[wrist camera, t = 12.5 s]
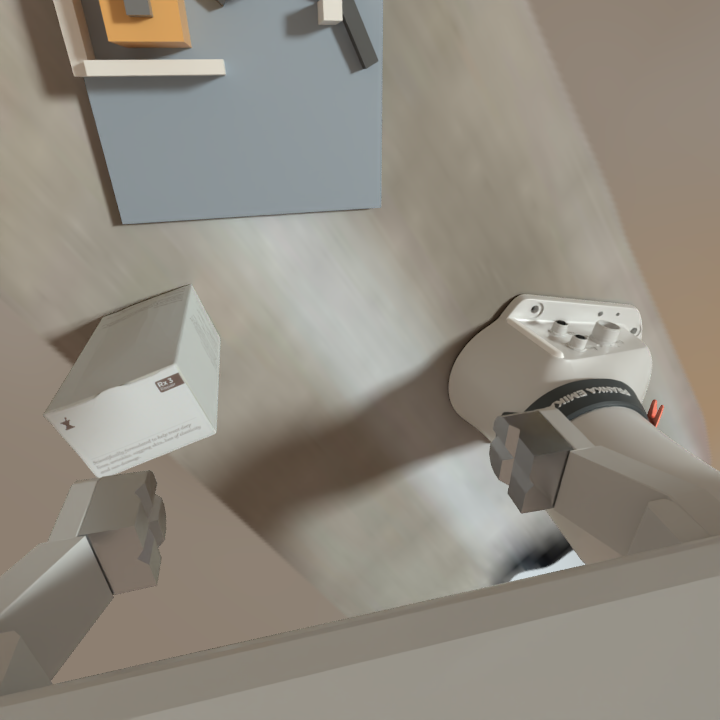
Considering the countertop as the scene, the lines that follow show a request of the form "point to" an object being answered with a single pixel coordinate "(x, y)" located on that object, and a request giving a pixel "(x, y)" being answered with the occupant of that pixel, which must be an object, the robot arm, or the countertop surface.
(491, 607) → the robot arm
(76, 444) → the skincare box
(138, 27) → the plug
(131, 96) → the board
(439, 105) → the countertop surface
